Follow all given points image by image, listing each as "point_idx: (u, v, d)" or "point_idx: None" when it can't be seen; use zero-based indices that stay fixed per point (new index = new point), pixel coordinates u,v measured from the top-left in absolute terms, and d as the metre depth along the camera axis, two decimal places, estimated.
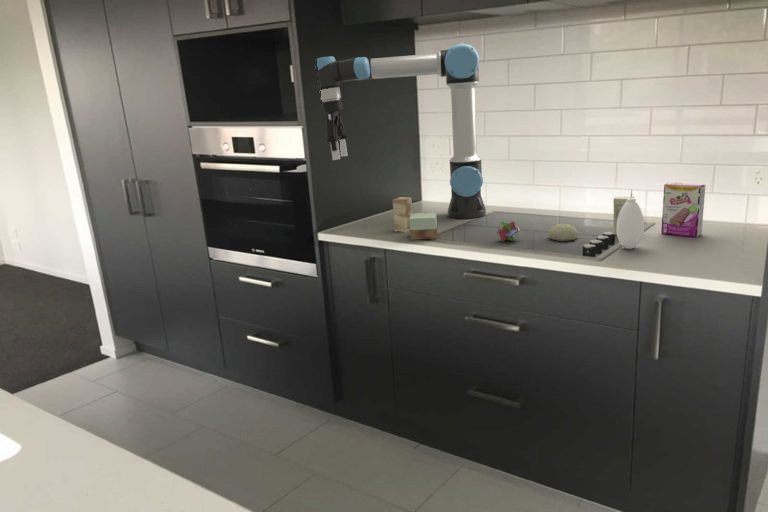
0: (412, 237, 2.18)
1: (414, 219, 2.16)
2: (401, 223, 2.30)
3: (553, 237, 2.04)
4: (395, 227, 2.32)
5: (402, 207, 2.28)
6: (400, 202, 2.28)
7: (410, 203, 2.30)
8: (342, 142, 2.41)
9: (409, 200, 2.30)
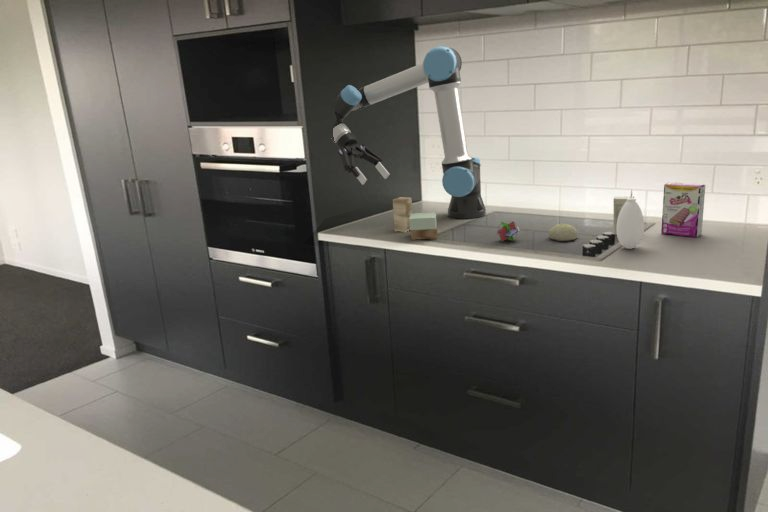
0: (412, 237, 2.18)
1: (414, 219, 2.16)
2: (401, 223, 2.30)
3: (553, 237, 2.04)
4: (395, 227, 2.32)
5: (402, 207, 2.28)
6: (400, 202, 2.28)
7: (410, 203, 2.30)
8: (379, 166, 2.41)
9: (409, 200, 2.30)
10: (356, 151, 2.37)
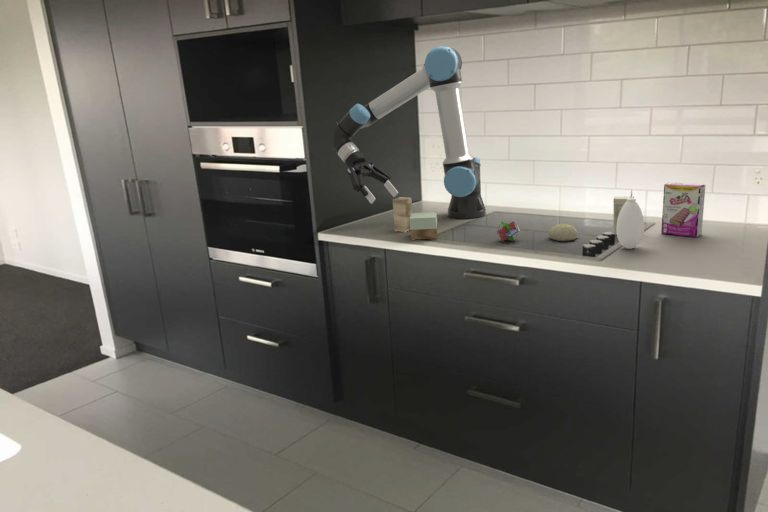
0: (412, 237, 2.18)
1: (414, 219, 2.16)
2: (401, 223, 2.30)
3: (553, 237, 2.04)
4: (395, 227, 2.32)
5: (402, 207, 2.28)
6: (400, 202, 2.28)
7: (410, 203, 2.30)
8: (387, 184, 2.40)
9: (409, 200, 2.30)
10: (364, 170, 2.37)
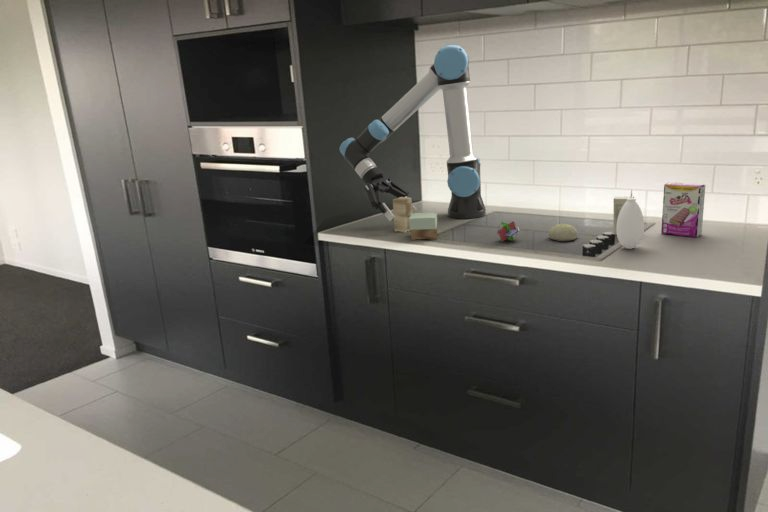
0: (412, 237, 2.18)
1: (414, 219, 2.16)
2: (401, 223, 2.30)
3: (553, 237, 2.04)
4: (395, 227, 2.32)
5: (402, 207, 2.28)
6: (400, 202, 2.28)
7: (410, 203, 2.30)
8: None
9: (409, 200, 2.30)
10: (382, 186, 2.34)
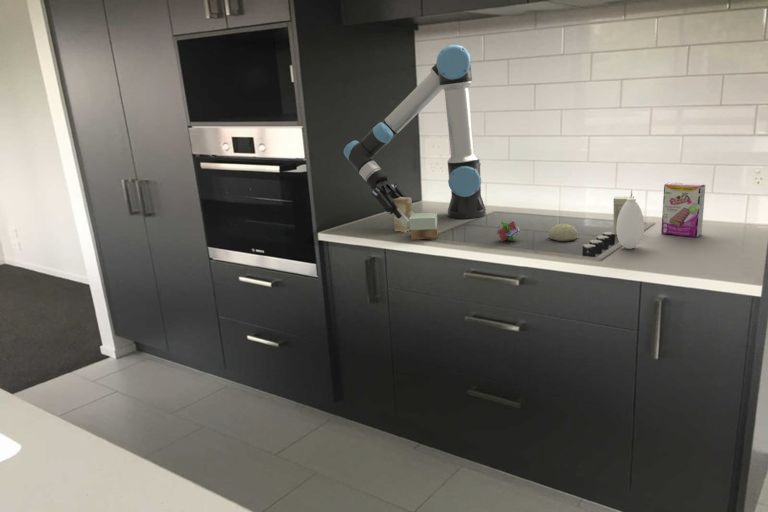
0: (412, 237, 2.18)
1: (414, 219, 2.16)
2: (401, 223, 2.30)
3: (553, 237, 2.04)
4: (395, 227, 2.32)
5: (402, 207, 2.28)
6: (400, 202, 2.28)
7: (410, 203, 2.30)
8: None
9: (409, 200, 2.30)
10: None
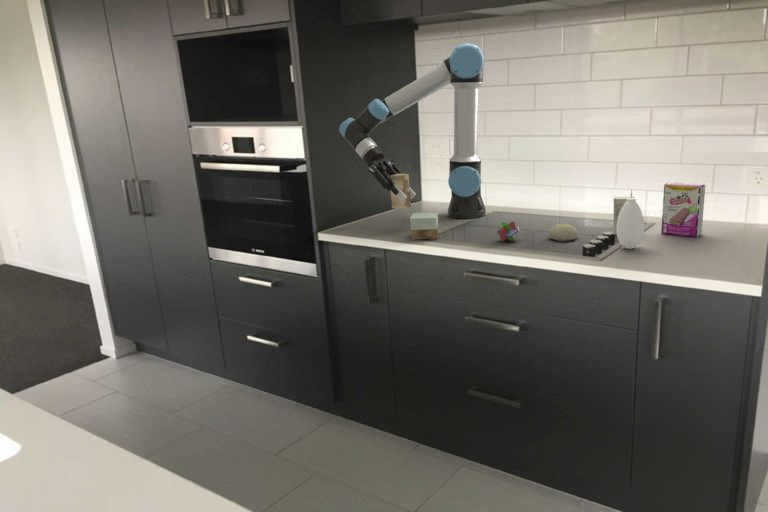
0: (413, 237, 2.18)
1: (415, 219, 2.16)
2: (398, 200, 2.28)
3: (553, 237, 2.04)
4: (392, 204, 2.30)
5: (399, 183, 2.26)
6: (397, 178, 2.26)
7: (407, 179, 2.28)
8: None
9: (406, 176, 2.27)
10: (384, 166, 2.31)
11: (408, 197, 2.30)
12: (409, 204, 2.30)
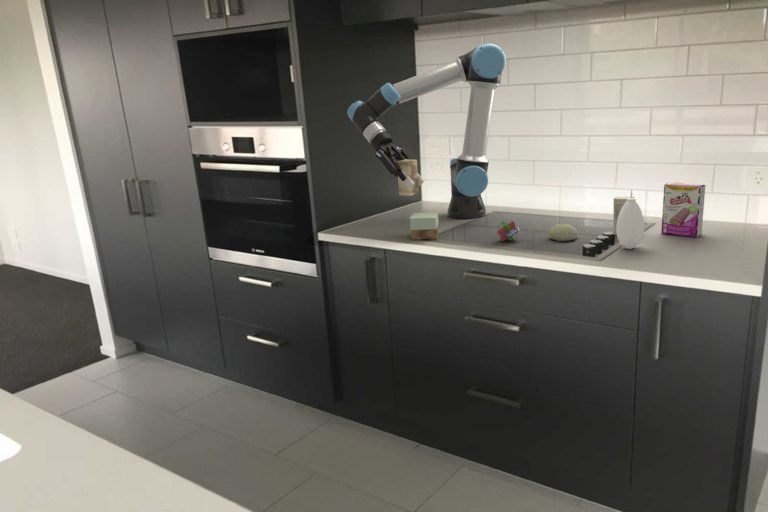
0: (413, 237, 2.18)
1: (414, 219, 2.16)
2: (405, 186, 2.20)
3: (553, 237, 2.04)
4: (399, 191, 2.22)
5: (407, 169, 2.18)
6: (405, 164, 2.18)
7: (415, 165, 2.20)
8: None
9: (414, 162, 2.19)
10: (392, 151, 2.23)
11: (416, 184, 2.22)
12: (417, 191, 2.23)
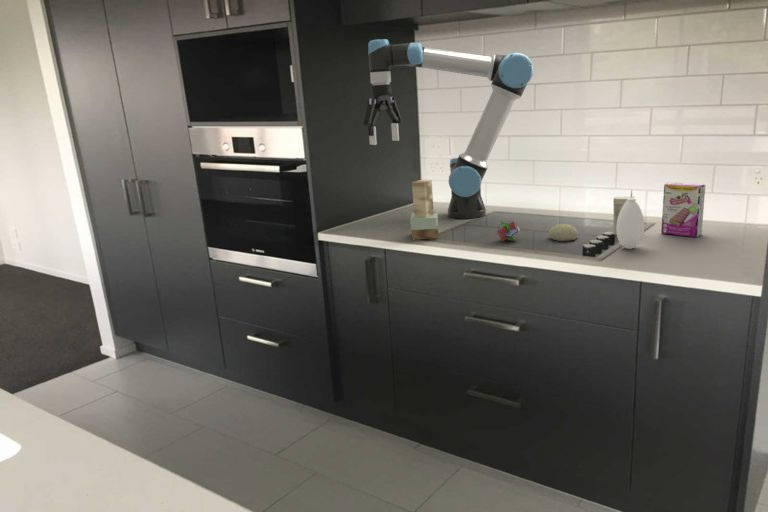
0: (413, 237, 2.18)
1: (415, 219, 2.16)
2: (421, 207, 2.17)
3: (553, 237, 2.04)
4: (415, 212, 2.19)
5: (423, 190, 2.15)
6: (420, 185, 2.14)
7: (430, 186, 2.17)
8: (394, 126, 2.38)
9: (429, 183, 2.16)
10: (384, 105, 2.31)
11: (431, 204, 2.19)
12: (432, 212, 2.20)
